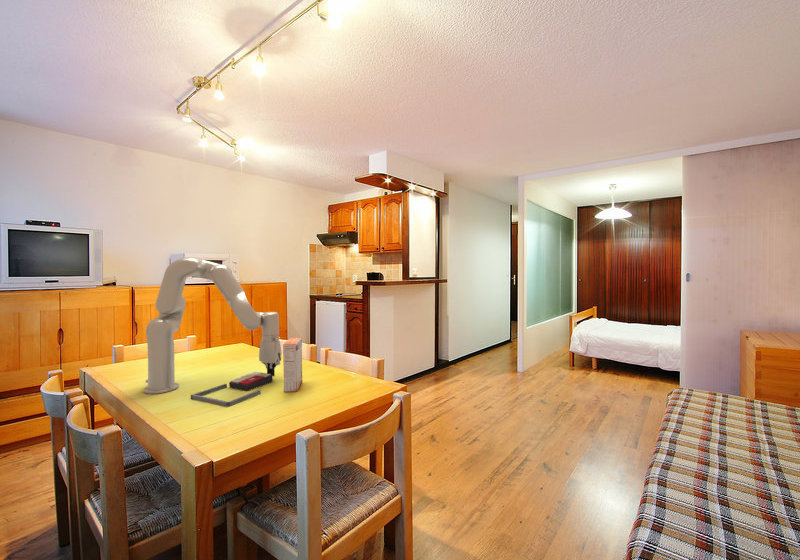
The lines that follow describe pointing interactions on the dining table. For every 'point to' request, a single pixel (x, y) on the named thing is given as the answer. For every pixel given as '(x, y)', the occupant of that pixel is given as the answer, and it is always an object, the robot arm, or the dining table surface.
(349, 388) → the dining table surface
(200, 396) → the frame
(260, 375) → the black flat box
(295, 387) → the cracker box
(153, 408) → the dining table surface
